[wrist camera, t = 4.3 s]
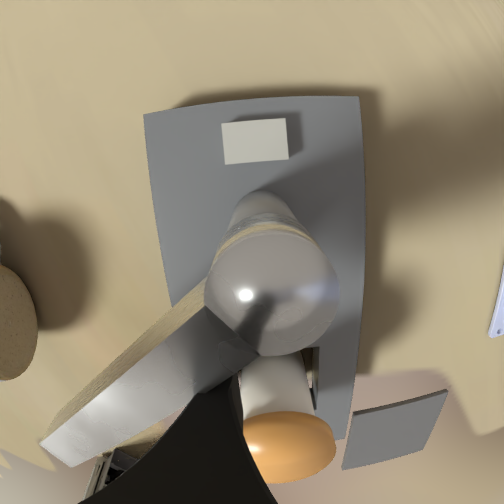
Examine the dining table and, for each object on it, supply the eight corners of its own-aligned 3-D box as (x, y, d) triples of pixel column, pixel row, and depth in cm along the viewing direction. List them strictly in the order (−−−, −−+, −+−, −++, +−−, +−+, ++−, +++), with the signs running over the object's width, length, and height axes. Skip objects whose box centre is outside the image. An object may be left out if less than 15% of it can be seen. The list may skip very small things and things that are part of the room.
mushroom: (313, 325, 17) (341, 418, 10) (311, 387, 18) (331, 476, 12) (226, 332, 17) (214, 428, 10) (236, 394, 18) (231, 485, 12)
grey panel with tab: (345, 103, 13) (418, 69, 6) (339, 418, 19) (361, 499, 12) (157, 119, 13) (80, 96, 7) (213, 428, 20) (203, 512, 13)
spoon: (339, 267, 8) (364, 303, 6) (95, 441, 10) (81, 474, 8) (272, 189, 7) (279, 204, 5) (48, 405, 10) (29, 435, 8)
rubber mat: (446, 388, 19) (448, 391, 18) (421, 446, 21) (422, 449, 21) (353, 411, 19) (354, 415, 19) (341, 466, 22) (342, 470, 21)
